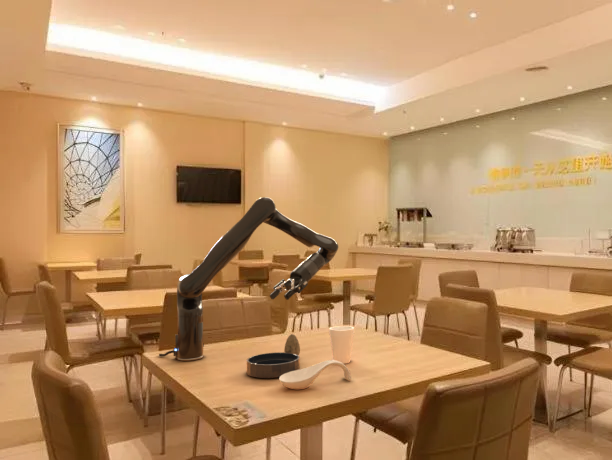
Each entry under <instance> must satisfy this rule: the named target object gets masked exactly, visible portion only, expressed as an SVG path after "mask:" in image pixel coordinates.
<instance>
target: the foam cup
mask: <svg viewBox="0 0 612 460" xmlns="http://www.w3.org/2000/svg"><path fill="white" fill-rule="evenodd" d="M328 333H329V339H330V347H331V354H332V360H336V361H339V362H341V363H343V364H344V365H346V364H349V363H350V362H351V359H352V351H353V350H352V349H353V342H354V334H355V327H354V326H350V325H337V326H331V327H329V330H328Z"/></svg>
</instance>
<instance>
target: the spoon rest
mask: <svg viewBox="0 0 612 460" xmlns="http://www.w3.org/2000/svg"><path fill="white" fill-rule="evenodd" d="M330 366H338V367H340V368H341V369H342V370H343V377H344V380H347V381H352V375H351V372H350V370H349V367H348V366H346V364H343V363H341V362H339V361H336V360H333V359H327V360H323V361H321V362H318V363H315V364H313V365H309V366H307V367H303V368H300V369H299V370H295V371H291V372H288V373H285V374H283V375H281V376H280V377H279V378H278V380H279V382H280V383H281V384H282V386H284V387H286V388H287V389H291V390H304V389H307V388H309V387H310V385H312V384H313V383H314V381H315V380H316V379H318V377H319V376H320V374H321V373H323V371H324V370H326V369H327V368H328V367H330Z"/></svg>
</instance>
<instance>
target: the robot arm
mask: <svg viewBox="0 0 612 460" xmlns="http://www.w3.org/2000/svg"><path fill="white" fill-rule="evenodd" d="M262 224H266V225H268V226H271V227H274V228H275V229H277V230H279V231H282V232H283V233H285V234H287V235H288V236H289V237H292V238H293V239H295V240H296V241H298V242H299V243H300V244H302V245H305V246H306V247H307V248H310V249H311V248H313V247H318V250H317V251H315V252H313V253H311V254H310V255H309V256H308V257H307V258H305V260H303V261H302V262H300V264H298V265H297V266H296V267H295V268H294V269H293V270H292V271H291V272H290V274H289V278H288V279H286V280H285V279H284V278H282V279H281V280H280V281H279V282H277V284H276V285H274V286H273V287H272V289H273V291H272V292H271V293H270V294H269V298H270V299H271V300H275V299H276V298H278V296H279V295H280V294H281V293H285V294H284V295H283V297H284V299H285V300H286V301H289V300H290V299H291V298H292V297H293V296H294V295H296V294H297V293H298V294H300V293H302V292H303V290H304V289H305V288H307V286H308V285H309V282H310V281H311V280H312V279H313V278H314V277H315V276H316V275H317V273H318V272H319V271H320V270H321V269H322V268H323V267H324V266H326V265H327V264H328V263H330V262H332V260H333V259H334V258H335V256H336V253H337V252H338V250H339V244H338V242H337V241H336V240H335V239H334V238H333V237H330V236H327V235H324V234H322V233H318V232H316V231H315V230H313V229H311V228H309V227H308V226H306V225H305V224H302V223H300V222H298V221H296V220H293V219H291V218H289V217H288V216H286V215H284V214H282V212H281V211H279V210H278V209H277V206H276V203H275V201H274V200H273V199H272V198H270V197H267V196H262V197H259V198H258V199H256V200H255V201H254V203H252V205H251V206H250V208H249V209H248V210H247V211H246V213H245V214H243V216H242V217H241V218H240V219H239V220H238V221H237V222H236V223H235V224H234V225H233V226H232V227H231V228H229V229H228V230H227V231H226V232H225V234H223V235H222V236H221V237H220V238H219V240H217V242H215V244H214V245H213V246H212V248H211V249H210V250H209V252H208V253H207V255H206V256H205V258H204V259H203V260H202V262H201V263H200V264H199V265H198V266H197V267H196V268H195V269H193V270H192V271H191V273H187V274H185V275H182V276H181V277H180V278H179V279H178V280H177V284H176V308H177V334H175V341H174V342H175V343H174V344H175V347H173V349H172V350H168V351H167V352H165V353H158V356H159V357H166V356H168V355H171V354H173V357H175V358H174V359H175V360H177V361H181V362H189V361H198V360H201V359H204V347H205V346H204V345H205V344H204V306H203V292H204V291H205V290H206V288H207V287H208V286H209V284H210V283H211V282H212V281H213V279H214V278H215V277H216V276H217V275H218V274H219V273H220V272H221V271H222V270H223V269H224V268H226V267H227V266H228V265H229V264H230V262H232V261H233V260H234V259H235V258H236V257H237V256H238V255H239V253H240V252H241V251H242V250H243V249H244V248H245V246H246V245H247V243H248V242H249V240H250V239H251V238H252V236H253V234H254V233H255V231H256V230H257V229H258V228H259V227H260V226H261V225H262Z"/></svg>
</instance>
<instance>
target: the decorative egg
mask: <svg viewBox="0 0 612 460" xmlns="http://www.w3.org/2000/svg"><path fill="white" fill-rule="evenodd" d="M300 345H301V344H300V342H299V340H298V337H297V336H296V335H295V334H290V335H288V336H287V338H286V341H285V343H284V351H283V352H284V353H293V354H297V355H299V356H300V353H301V346H300Z"/></svg>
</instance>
